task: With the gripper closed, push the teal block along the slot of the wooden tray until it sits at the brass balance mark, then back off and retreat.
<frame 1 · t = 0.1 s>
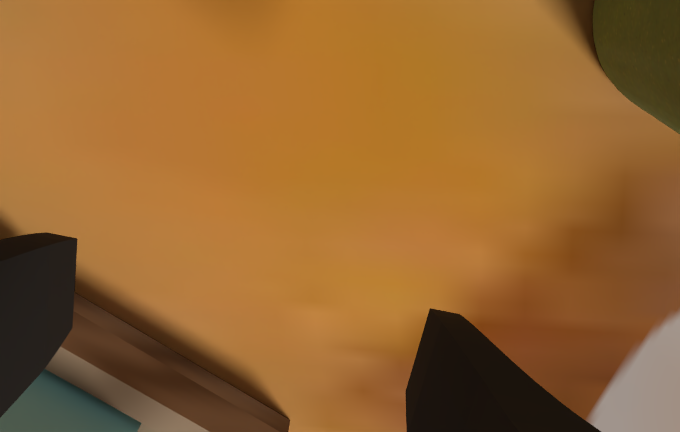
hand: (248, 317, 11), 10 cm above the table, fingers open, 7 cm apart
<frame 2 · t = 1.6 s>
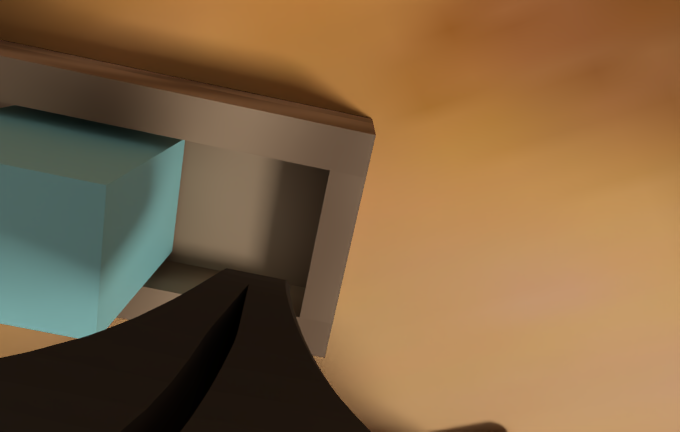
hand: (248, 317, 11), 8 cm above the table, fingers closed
teal block: (53, 206, 14), point 4 cm above the table, slide at -5.0 cm
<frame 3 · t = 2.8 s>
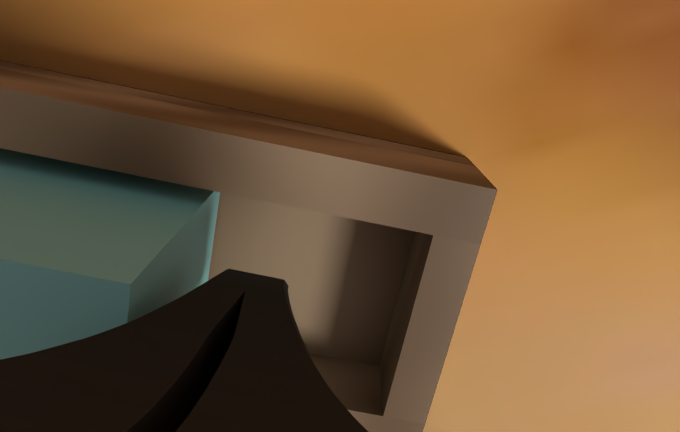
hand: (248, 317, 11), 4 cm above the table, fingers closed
teal block: (52, 284, 11), point 4 cm above the table, slide at -4.7 cm, touching gripper
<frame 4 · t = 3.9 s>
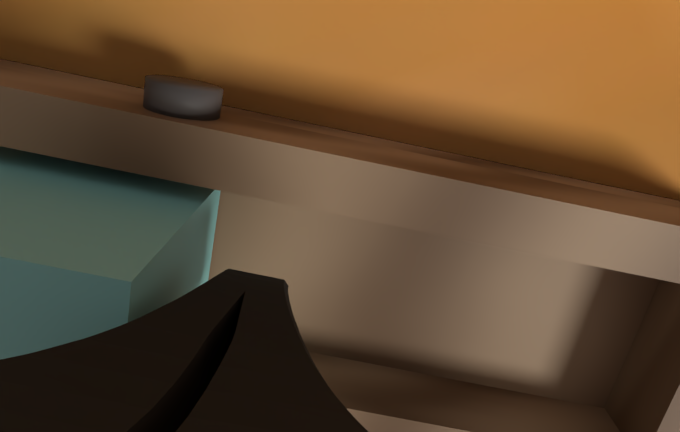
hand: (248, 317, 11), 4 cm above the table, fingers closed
wooden tray: (188, 231, 14), on the table
teal block: (52, 282, 11), point 4 cm above the table, slide at 1.6 cm, touching gripper
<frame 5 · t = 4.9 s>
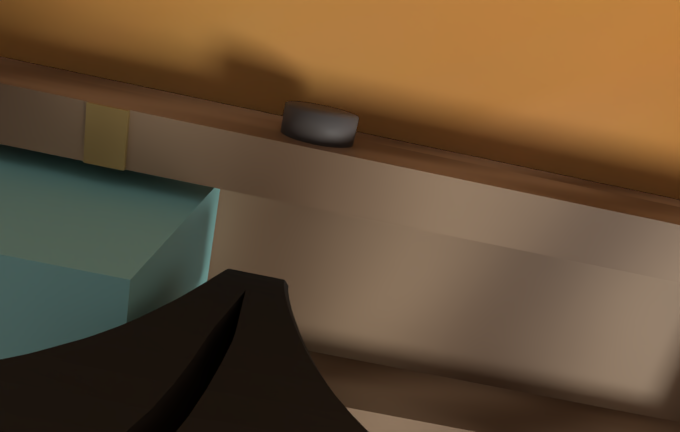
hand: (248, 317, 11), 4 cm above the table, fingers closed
wooden tray: (296, 251, 15), on the table
teal block: (51, 280, 11), point 4 cm above the table, slide at 4.6 cm, touching gripper
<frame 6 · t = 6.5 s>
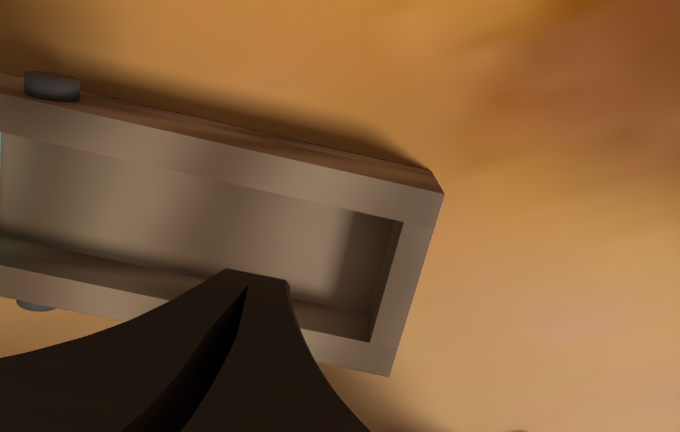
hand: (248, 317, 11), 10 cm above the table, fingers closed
wooden tray: (72, 182, 20), on the table
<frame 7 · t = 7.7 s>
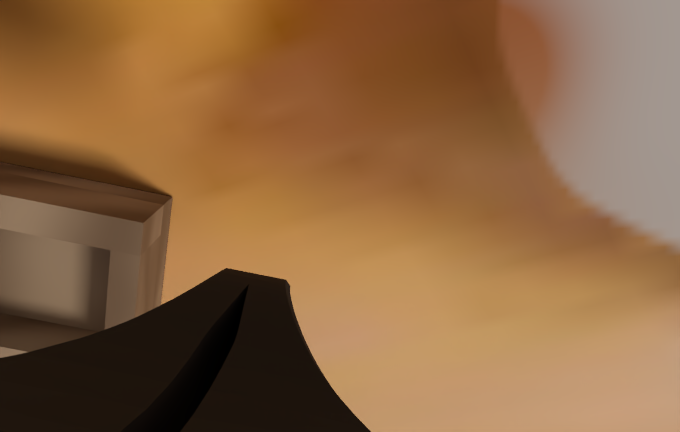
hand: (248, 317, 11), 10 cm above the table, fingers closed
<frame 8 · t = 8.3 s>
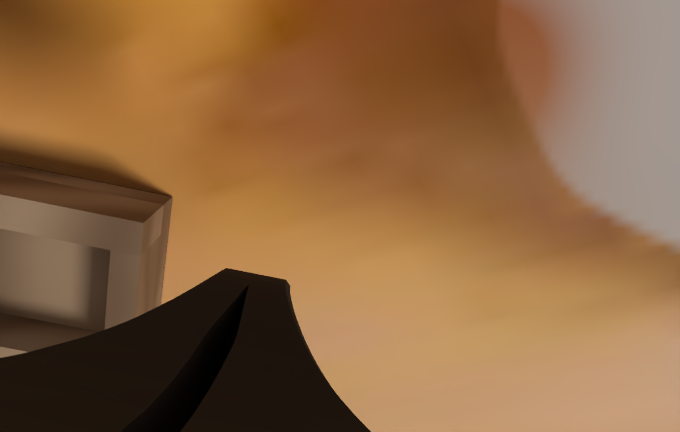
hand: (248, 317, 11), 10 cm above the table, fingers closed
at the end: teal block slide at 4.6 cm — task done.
